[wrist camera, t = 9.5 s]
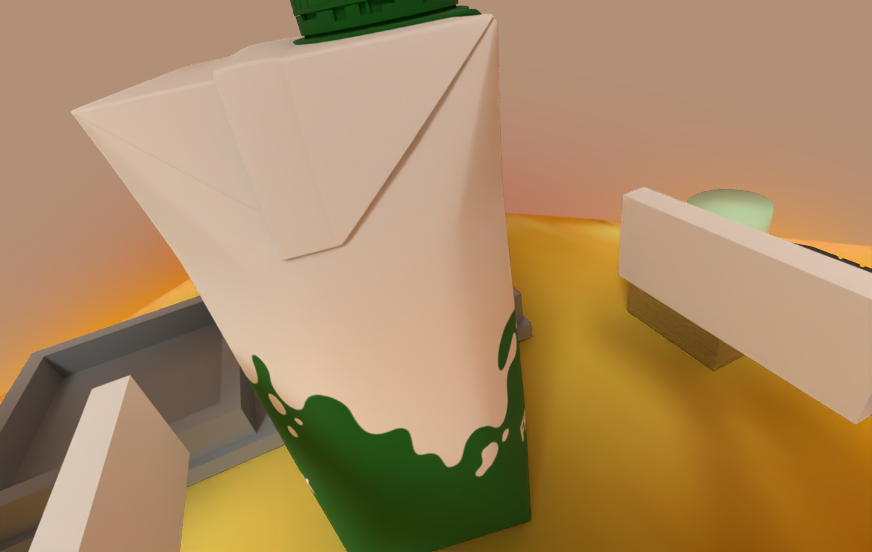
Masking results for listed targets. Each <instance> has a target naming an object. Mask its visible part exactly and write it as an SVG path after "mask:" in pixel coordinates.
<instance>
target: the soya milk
mask: <svg viewBox="0 0 872 552" xmlns="http://www.w3.org/2000/svg"><path fill="white" fill-rule="evenodd" d="M290 1H291V5H292V8H293V13H294V16H297V15H300V16H297V17H296V19H297V22H298V26H299V29H300V32H301V35H302V36H305V37H300V36H295V37H290V38H284V39H280V40H275V41H269V42H263V43H258V44H254V45H251V46H248V47H245V48H243V49H242V50H240V51H238V52H236V53H235V54H233V55H232V56H230V57H225V58H220V59H216V60H212V61H207V62H202V63H198V64H193V65H188V66H185V67H182V68H180V69H177V70H175V71H172V72H169V73H167V74H164V75H162V76H159V77H157V78H154V79H151V80H149V81H146V82H143V83H141V84H138V85H135V86H133V87H130V88H128V89H125V90H123V91H120V92H118V93H115V94H112V95H110V96H107V97H105V98H102V99H99V100H97V101H94V102H91V103H89V104H86V105H84V106H81V107H79V108H76V109H74V110H73V111H72V112H71V113H72V115H73V116H74V117H75V118H76V119H77V121H78V122H79V123H80V125H81V126H82V127H83V129H84V130H85V131H86V133H87V134H88V135H89V137H90V138H91V139H92V140H93V142H94V143H95V145H96V146H97V147H98V149H99V150H100V151H101V153H102V154H103V155H104V157H105V158H106V159H107V160H108V162H109V163H110V164H111V166H112V167H113V168H114V170H115V171H116V173H117V174H118V175H119V177H120V178H121V179H122V181H123V182H124V184H125V185H126V186H127V188H128V189H129V190H130V192H131V193H132V194H133V196H134V197H135V199H136V200H137V201H138V203H139V204H140V206H141V207H142V209H143V210H144V211H145V213H146V214H147V215H148V217H149V218H150V220H151V221H152V222H153V224H154V225H155V226H156V228H157V229H158V231H159V232H160V233H161V235H162V236H163V237H164V239H165V240H166V242H167V243H168V245H169V246H170V247H171V249H172V250H173V252H174V253H175V254H176V256H177V257H178V259H179V261H180V262H181V264H182V265H183V267H184V269H185V270H186V272H187V273H188V275H189V277H190V279H191V280H192V282H193V284H194V286H195V287H196V289H197V291H198V293H199V294H200V296H201V298H202V300H203V301H204V303H205V305H206V307H207V308H208V310H209V312H210V314H211V315H212V317H213V319H214V321H215V322H216V324H217V326H218V328H219V329H220V331H221V333H222V335H223V337H224V338H225V340H226V342H227V344H228V345H229V347H230V349H231V351H232V352H233V354H234V356H235V358H236V359H237V361H238V363H239V365H240V366H241V368H242V370H243V372H244V373H245V375H246V377H247V379H248V380H249V382H250V384H251V386H252V387H253V389H254V391H255V393H256V394H257V396H258V398H259V400H260V401H261V403H262V405H263V407H264V408H265V410H266V412H267V414H268V416H269V417H270V419H271V421H272V423H273V424H274V426H275V428H276V430H277V431H278V433H279V435H280V437H281V438H282V440H283V442H284V444H285V445H286V447H287V449H288V451H289V452H290V454H291V456H292V458H293V459H294V461H295V463H296V465H297V466H298V468H299V470H300V472H301V474H302V475H303V477H304V479H305V481H306V482H307V484H308V486H309V487H310V489H311V491H312V493H313V494H314V496H315V498H316V499H317V501H318V503H319V504H320V506H321V508H322V509H323V511H324V513H325V515H326V516H327V518H328V520H329V521H330V523H331V525H332V526H333V528H334V530H335V531H336V533H337V535H338V536H339V538H340V540H341V542H342V543H343V545H344V547H345V548H346V550H347V552H432V551H435V550H438V549H441V548H445V547H448V546H451V545H454V544H457V543H461V542H464V541H467V540H470V539H473V538H477V537H480V536H483V535H486V534H489V533H493V532H496V531H499V530H502V529H505V528H509V527H512V526H515V525H518V524H522V523H525V522H528V521H531V510H530V492H529V473H528V454H527V435H526V417H525V404H524V393H523V383H522V373H521V363H520V353H519V343H518V333H517V324H516V314H515V304H514V294H513V284H512V274H511V265H510V255H509V245H508V235H507V225H506V215H505V205H504V194H503V181H502V158H501V126H500V93H499V50H498V49H499V48H498V22H497V20H496V19H495V18H494V17H493V15H492V14H483V15H482V14H481V13H480V12H479V11H478V10H476V9H469V7H468V6H456V5H455V4H458V0H290Z"/></svg>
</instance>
